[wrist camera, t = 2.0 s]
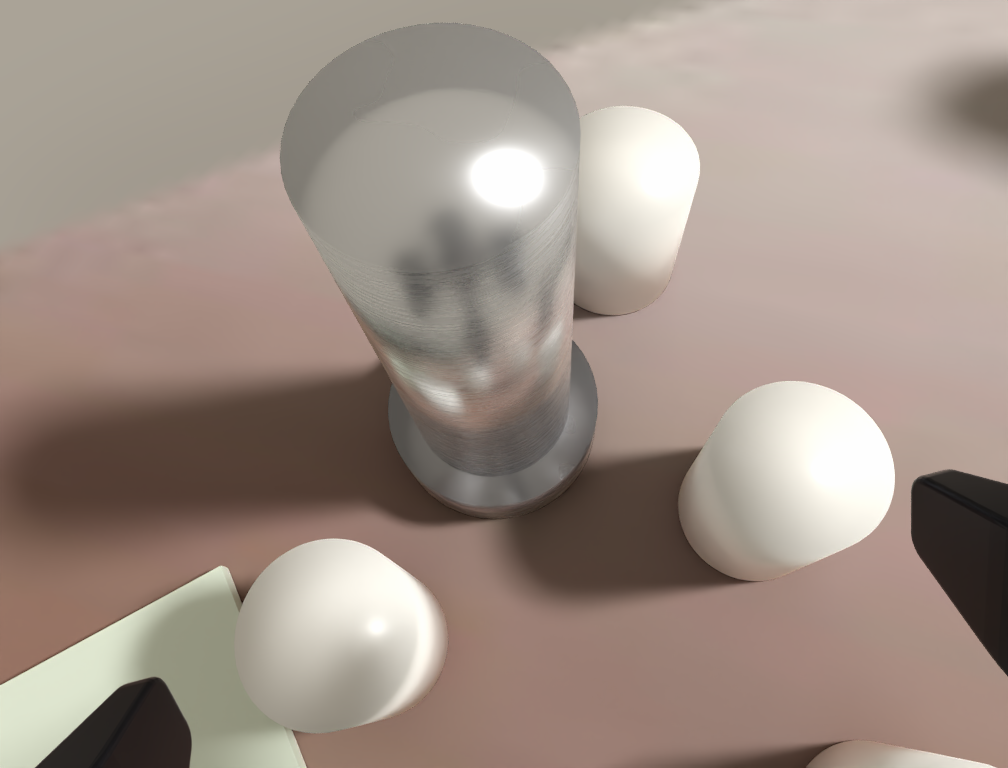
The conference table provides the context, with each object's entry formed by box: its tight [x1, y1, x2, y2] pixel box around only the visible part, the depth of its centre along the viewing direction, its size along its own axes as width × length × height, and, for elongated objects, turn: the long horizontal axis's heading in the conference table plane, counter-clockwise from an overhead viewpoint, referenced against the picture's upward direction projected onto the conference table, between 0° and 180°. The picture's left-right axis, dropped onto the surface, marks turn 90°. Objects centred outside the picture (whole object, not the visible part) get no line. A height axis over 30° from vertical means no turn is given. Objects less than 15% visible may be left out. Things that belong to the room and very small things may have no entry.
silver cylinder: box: [280, 23, 598, 519], centre depth 17 cm, size 6×6×13 cm
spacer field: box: [234, 106, 996, 768], centre depth 19 cm, size 21×16×5 cm
